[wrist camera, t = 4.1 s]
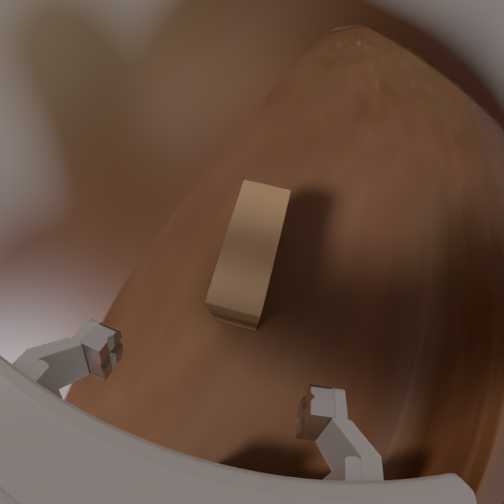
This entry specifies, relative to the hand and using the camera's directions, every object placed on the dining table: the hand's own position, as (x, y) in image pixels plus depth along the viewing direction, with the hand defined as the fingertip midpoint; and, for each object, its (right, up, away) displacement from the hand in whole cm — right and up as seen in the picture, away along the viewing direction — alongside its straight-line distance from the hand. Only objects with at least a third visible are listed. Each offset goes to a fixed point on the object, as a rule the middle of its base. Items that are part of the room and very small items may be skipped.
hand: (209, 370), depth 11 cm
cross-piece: (+2, +3, +12) cm, 12 cm away
